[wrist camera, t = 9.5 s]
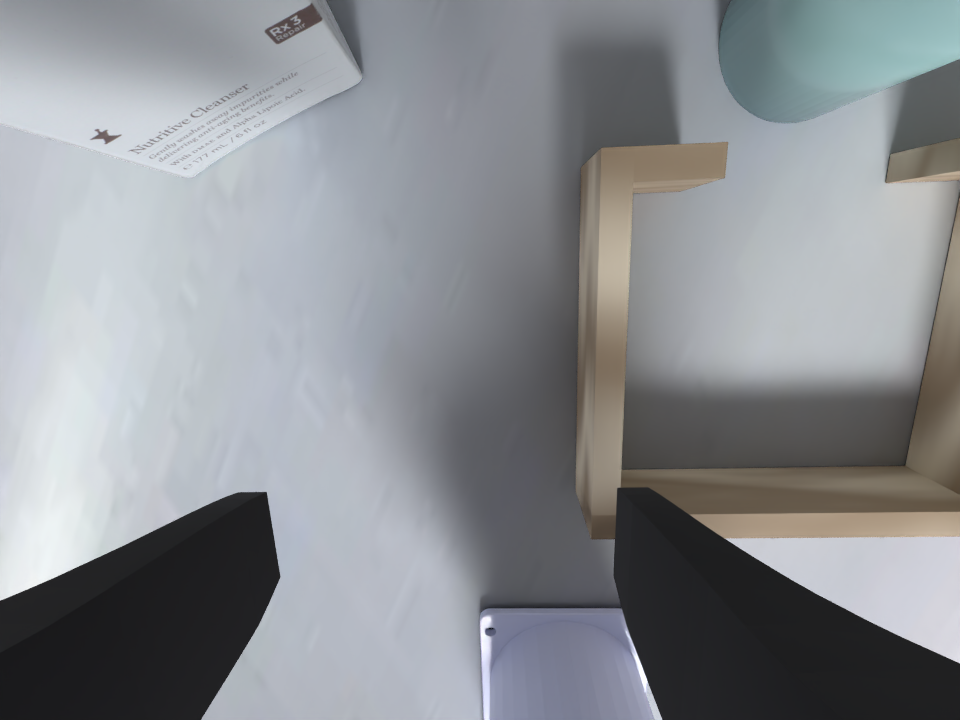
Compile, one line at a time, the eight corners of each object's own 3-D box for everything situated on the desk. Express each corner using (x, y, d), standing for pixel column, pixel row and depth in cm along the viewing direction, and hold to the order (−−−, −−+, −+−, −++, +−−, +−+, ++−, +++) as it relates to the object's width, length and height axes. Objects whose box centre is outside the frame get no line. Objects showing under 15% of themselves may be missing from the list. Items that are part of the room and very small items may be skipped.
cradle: (925, 486, 20) (1013, 536, 16) (575, 490, 20) (591, 539, 17) (997, 149, 17) (1126, 124, 13) (580, 167, 17) (601, 147, 14)
